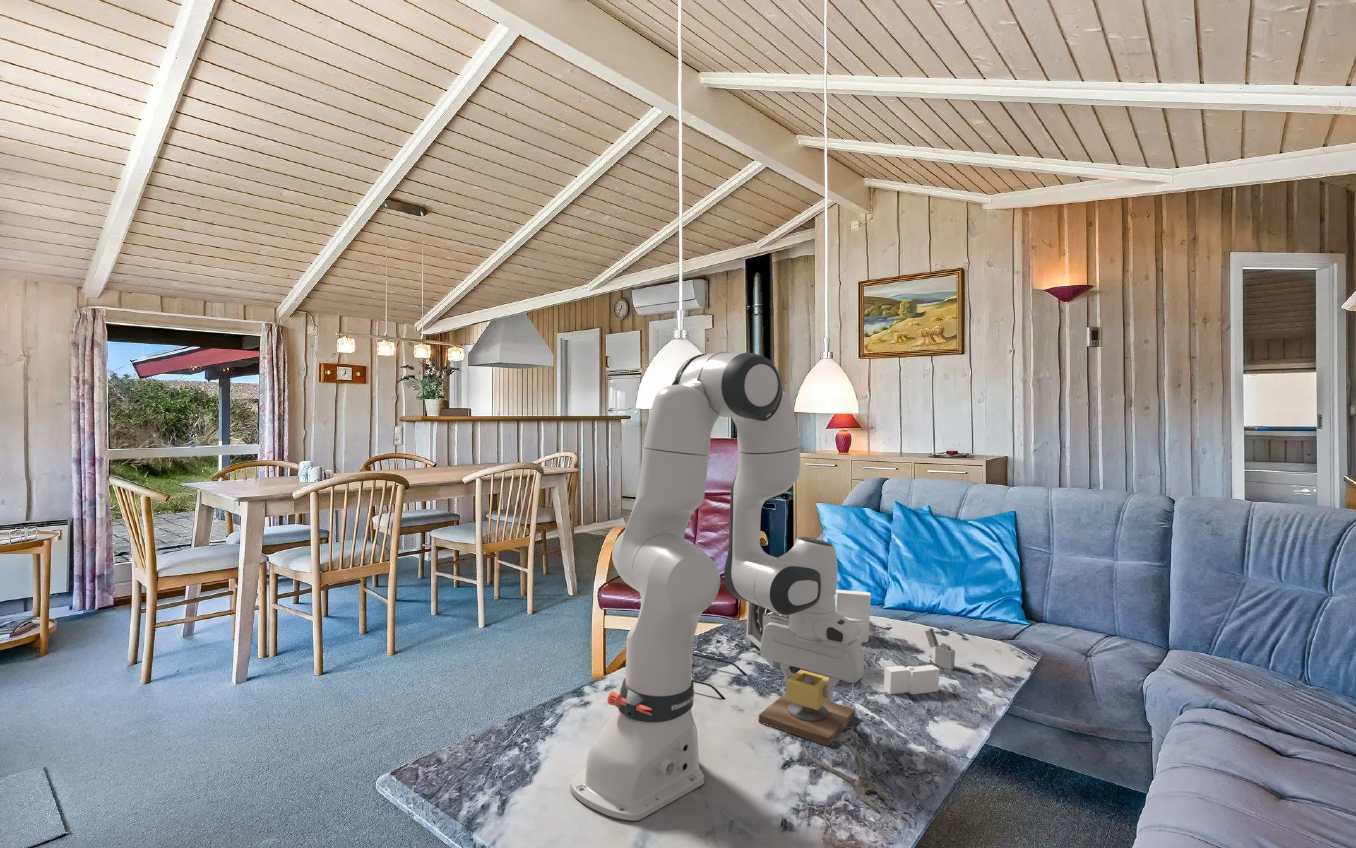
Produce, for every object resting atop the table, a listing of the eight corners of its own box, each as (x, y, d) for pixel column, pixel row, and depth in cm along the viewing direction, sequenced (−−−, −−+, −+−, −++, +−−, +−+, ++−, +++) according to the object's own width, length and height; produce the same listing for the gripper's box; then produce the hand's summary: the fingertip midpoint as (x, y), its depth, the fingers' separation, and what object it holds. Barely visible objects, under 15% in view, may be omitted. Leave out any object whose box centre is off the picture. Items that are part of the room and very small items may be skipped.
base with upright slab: (834, 641, 171) (837, 596, 170) (832, 629, 179) (834, 586, 179) (870, 645, 169) (872, 599, 169) (866, 632, 178) (868, 589, 178)
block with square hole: (817, 710, 123) (818, 689, 123) (786, 700, 127) (787, 680, 127) (830, 698, 129) (831, 678, 128) (799, 689, 132) (800, 669, 132)
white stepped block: (944, 687, 146) (945, 662, 146) (945, 709, 135) (946, 682, 135) (874, 675, 151) (875, 651, 151) (870, 695, 141) (871, 669, 141)
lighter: (954, 668, 156) (956, 635, 156) (951, 670, 155) (952, 636, 155) (926, 658, 161) (928, 626, 161) (922, 660, 160) (924, 627, 160)
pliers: (840, 736, 121) (925, 796, 103) (839, 740, 121) (924, 801, 103) (797, 747, 117) (878, 811, 99) (797, 751, 117) (878, 817, 99)
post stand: (828, 746, 118) (830, 699, 118) (758, 722, 126) (760, 678, 126) (854, 716, 130) (856, 674, 129) (789, 696, 138) (791, 656, 137)
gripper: (756, 613, 130) (753, 682, 131) (857, 638, 119) (853, 713, 119) (770, 606, 136) (767, 672, 136) (868, 628, 124) (864, 700, 125)
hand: (808, 691), depth 128 cm, fingers closed on block with square hole, 6 cm apart
